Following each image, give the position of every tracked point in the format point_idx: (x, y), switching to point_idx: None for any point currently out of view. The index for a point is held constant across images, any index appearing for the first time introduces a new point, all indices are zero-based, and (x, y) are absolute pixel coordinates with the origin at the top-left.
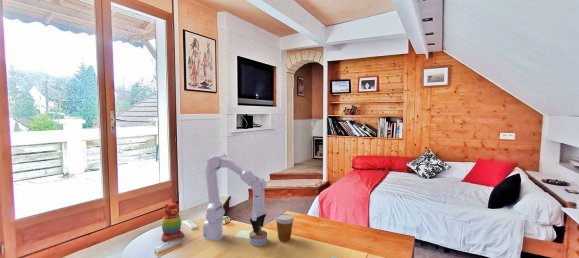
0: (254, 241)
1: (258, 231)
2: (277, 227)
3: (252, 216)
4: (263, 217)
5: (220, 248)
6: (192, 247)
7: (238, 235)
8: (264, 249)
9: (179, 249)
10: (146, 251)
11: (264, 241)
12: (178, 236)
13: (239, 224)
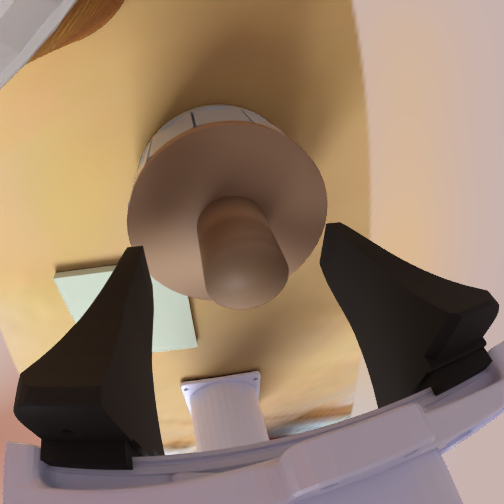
0: None
1: (336, 228)
2: (72, 29)
3: (499, 414)
4: (124, 353)
5: (328, 331)
6: (322, 392)
7: (168, 340)
8: (319, 92)
9: (336, 402)
10: None
11: (263, 121)
12: None
13: None
